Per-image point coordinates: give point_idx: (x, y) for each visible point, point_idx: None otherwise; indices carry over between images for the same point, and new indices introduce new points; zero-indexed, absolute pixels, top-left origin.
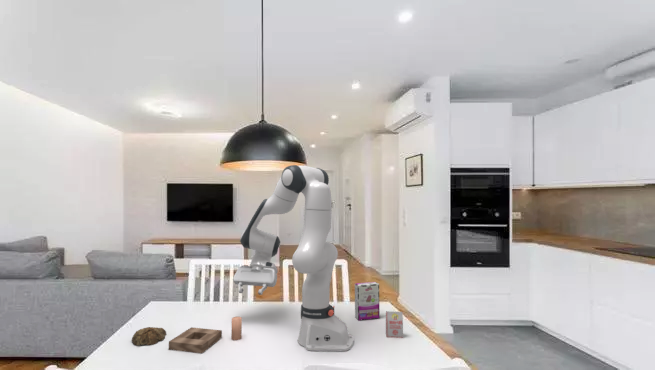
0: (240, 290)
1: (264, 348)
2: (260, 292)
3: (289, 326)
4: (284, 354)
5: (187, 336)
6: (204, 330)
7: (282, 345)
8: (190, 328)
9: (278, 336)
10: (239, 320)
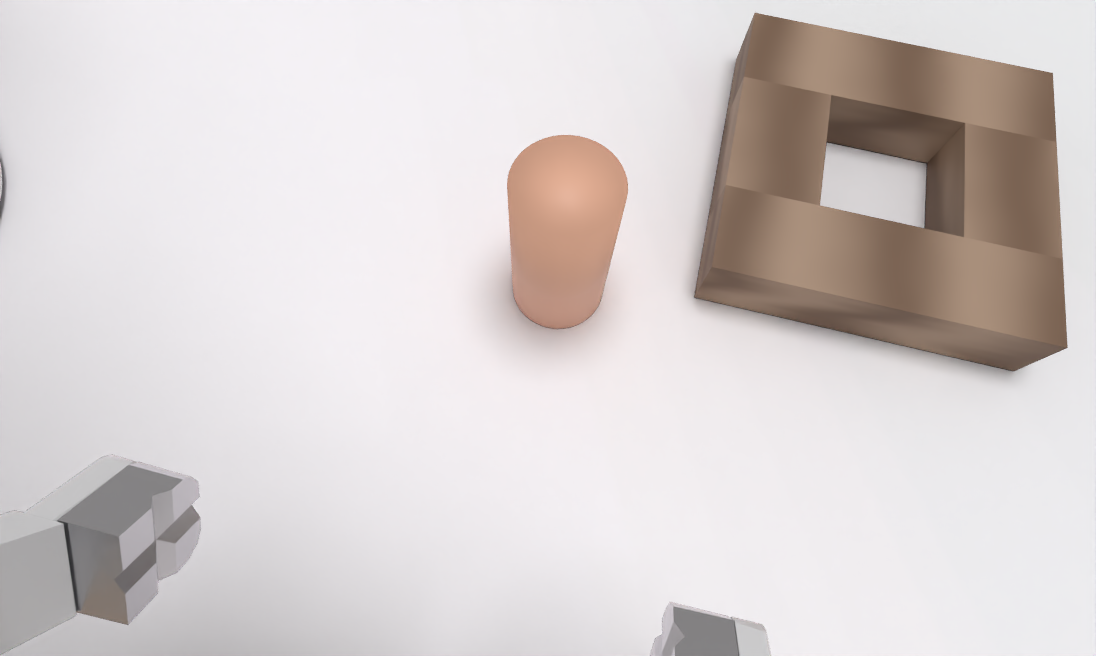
0: (707, 625)
1: (296, 111)
2: (121, 457)
3: None
4: (151, 30)
5: (964, 153)
6: (884, 267)
7: (149, 151)
8: (1055, 319)
9: (164, 314)
10: (525, 156)
